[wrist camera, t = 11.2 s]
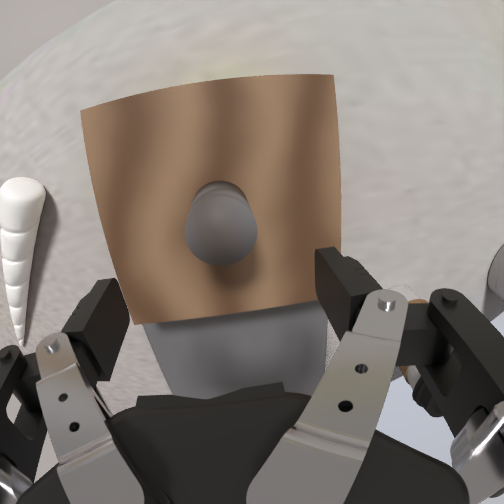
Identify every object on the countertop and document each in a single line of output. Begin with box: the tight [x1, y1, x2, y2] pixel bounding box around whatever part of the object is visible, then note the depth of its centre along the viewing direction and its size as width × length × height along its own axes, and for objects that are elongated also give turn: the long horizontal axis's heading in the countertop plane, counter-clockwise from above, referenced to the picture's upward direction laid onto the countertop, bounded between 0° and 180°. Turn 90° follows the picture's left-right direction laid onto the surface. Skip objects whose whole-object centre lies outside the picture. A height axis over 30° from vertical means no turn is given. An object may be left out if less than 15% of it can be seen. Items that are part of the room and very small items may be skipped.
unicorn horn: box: [0, 177, 46, 347], centre depth 24 cm, size 5×24×5 cm, turn 150°
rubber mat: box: [142, 300, 328, 399], centre depth 33 cm, size 20×20×1 cm
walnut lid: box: [80, 74, 341, 325], centre depth 19 cm, size 18×18×6 cm
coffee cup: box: [389, 285, 462, 417], centre depth 26 cm, size 8×8×15 cm
